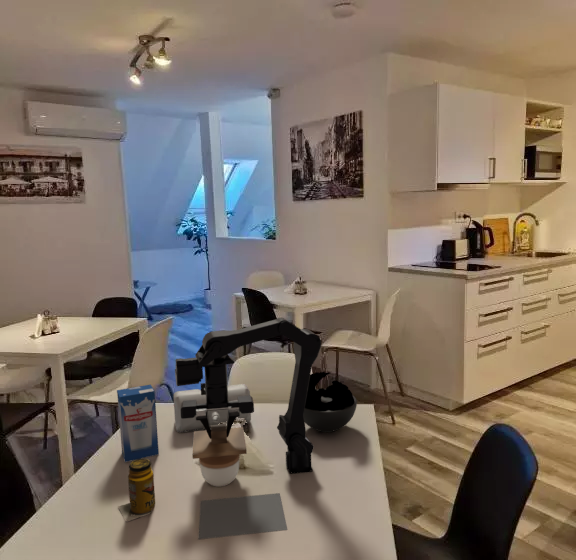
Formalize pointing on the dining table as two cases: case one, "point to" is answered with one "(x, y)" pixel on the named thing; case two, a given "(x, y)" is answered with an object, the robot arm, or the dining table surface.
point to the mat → (241, 516)
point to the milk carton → (138, 422)
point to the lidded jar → (219, 469)
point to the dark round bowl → (328, 405)
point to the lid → (219, 442)
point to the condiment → (139, 490)
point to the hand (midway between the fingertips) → (219, 437)
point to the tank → (213, 415)
